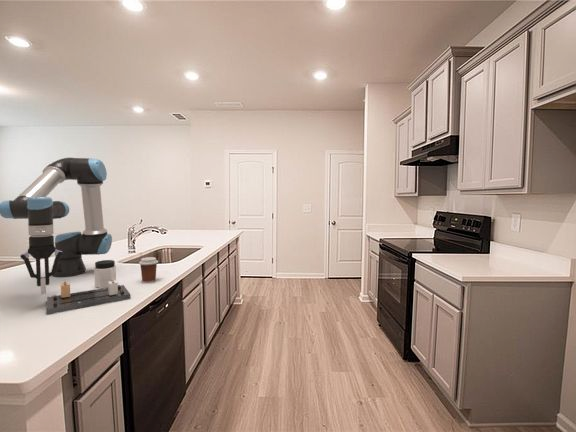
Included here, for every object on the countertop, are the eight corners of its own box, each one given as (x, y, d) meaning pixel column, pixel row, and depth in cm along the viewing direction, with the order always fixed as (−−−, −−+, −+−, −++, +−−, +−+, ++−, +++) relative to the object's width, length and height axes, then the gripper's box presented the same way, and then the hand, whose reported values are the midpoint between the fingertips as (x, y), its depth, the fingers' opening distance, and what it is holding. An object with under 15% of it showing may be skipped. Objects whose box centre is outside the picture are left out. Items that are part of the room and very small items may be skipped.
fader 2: (108, 292, 124) (107, 280, 124) (116, 291, 126) (115, 279, 126) (109, 295, 121) (109, 282, 121) (117, 293, 123) (117, 281, 123)
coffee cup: (145, 284, 144) (145, 261, 144) (135, 281, 149) (135, 258, 148) (162, 280, 152) (161, 258, 151) (151, 277, 157) (151, 255, 156)
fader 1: (61, 295, 120) (60, 282, 120) (69, 293, 122) (69, 281, 122) (61, 297, 117) (60, 284, 117) (70, 296, 119) (70, 283, 119)
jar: (94, 289, 136) (93, 264, 135) (94, 284, 143) (94, 261, 142) (116, 286, 141) (115, 262, 140) (115, 282, 147) (115, 259, 147)
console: (47, 301, 119) (47, 294, 119) (123, 289, 137) (123, 282, 137) (46, 314, 107) (46, 306, 107) (130, 298, 125) (130, 292, 124)
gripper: (18, 238, 106) (20, 299, 108) (62, 235, 115) (64, 292, 116) (19, 235, 112) (22, 294, 114) (62, 233, 121) (63, 287, 122)
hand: (43, 293), depth 115 cm, fingers closed
